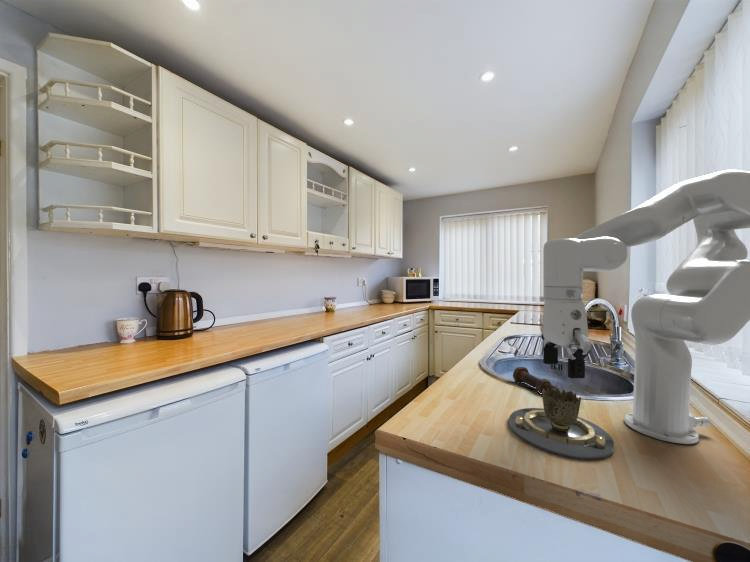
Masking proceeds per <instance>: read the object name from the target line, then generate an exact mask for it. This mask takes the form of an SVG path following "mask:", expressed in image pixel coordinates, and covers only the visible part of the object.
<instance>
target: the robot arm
mask: <svg viewBox="0 0 750 562" xmlns="http://www.w3.org/2000/svg"><path fill="white" fill-rule="evenodd" d="M692 220H693V223H694V227H695V231H696V232H695V233H696V237H697V242H696V243H697V244H696V246H695V247H694V249H692V251H691V252H690V253H689V254H687V255H688V256H686V258H685V259H684V260H682V261H681V263H680V264H679V265H678V266H677V267H676V268H675V270H673V272H672V273H671V274H670V276H669V277H668V279H667V281H666V284H665V285H666V290H667V292H668V293H669V294H664V293H663V294H661V293H660V294H656V293H655V294H648V295H645V296H643V297H640V298H638V299H637V300H636V301H635V302H634V304H633V306H632V307H631V310H630V311H631V312H630V317H631V323H632V327H633V332H634V340H635V341H634V342H635V345H634V348H635V352H634V354H635V356H634V374H633V375H634V376H633V377H634V378H633V400H632V401H633V402H632V403H633V405H632V412H629V413H626V414H625V415H624V423H625V424H626V425H627V426H628V427H630V428H632V429H633V430H635V431H636V432H638V433H641V434H643V435H645V436H648V437H650V438H654V439H656V440H661V441H664V442H669V443H673V444H680V445H693V444H696V443H698V442H699V441H700V439H699V438H700V436H699V435H700V434H699V433H698V432H697V431H696V430H695V429H694V428H696V427H697V426H700V427H710V426H711V425H712V424H711V423H712V422H711V420H710V418H708V417H705V416H694V415H693V414H691V413H690V411H691V410H690V405H691V389H692V388H691V386H692V385H691V384H692V383H691V382H692V368H693V366H692V365H693V360H692V355H691V351H690V349H689V348H688V347H689V346H688V345H687V344H686V341H687V342H692V343H697V344H702V345H703V344H704V345H710V346H712V345H713V346H717V345H721V344H725V343H727V342H728V341H730V340H732V339H733V338H734V337H735V336H737V334H738V333H740V331H741V330H742V329H743V328H744V327H745V326H746V324H747V323H748V322H749V321H750V260H748V259H747V257H748V255H749V254H748V253H749V252H748V249H747V246H746V244H744V243H743V241H742V240H741V239H740V238H739V236H738V235H737V233H736V230H743V229H750V171H745V170H741V169H740V170H738V169H727V170H721V171H717V172H713V173H709V174H706V175H702V176H698V177H694V178H691V179H687V180H684V181H681V182H678V183H677V184H674V185H672V186H671V187H669V188H667V189H665V190H663V191H661V192H660V193H659V194H657V195H654V196H653V197H652V198H650V199H649V200H646V201H645V202H643V203H642V204H640V205H638V206H637V207H635V208H633V209H631V210H628V211H626V212H624V213H621V214H620V215H617V216H615V217H613V218H611V219H609V220H607V221H603V222H602V223H599V224H598V225H596V226H593V227H591V228H589V229H587V230H585V231H583V232H581V233H580V234H578V235H576V236H574V237H573V238H570V237H569V238H556V239H550V240H547V241H546V242H545V243H544V245H543V254H542V255H543V261H542V263H543V269H542V270H543V281H542V282H543V283H542V284H543V287H542V288H543V292H542V293H543V301H544V305H543V315H542V325H540V327H539V329H540V333H541V336H540V337H541V340H542V342H541V343H542V348H543V350H542V352H543V353H542V354H543V355H542V357H543V358H542V359H543V361H542V362H543V364H545V365H557V364H558V363H559V347H561V348H564V349H566V352H567V353H568V356H569V358H567V377H568V378H569V379H585V377H586V360H588V359H587V358H588V356H589V354H590V350H591V347H592V342H591V340H590V339H589V327H588V317H587V311H586V310H587V309H586V305H585V302H584V297H583V296H584V283H583V282H584V272H608V271H609V272H610V271H613V270H616V269H618V268H620V267H621V266H623V265H624V264H625V263H626V261H627V259H628V256H629V250H628V248H632V247H636V246H641V245H644V244H647V243H650V242H654V241H657V240H659V239H661V238H664V237H665V236H667V235H668V234H670V233H671V232H673V231H675V230H676V229H678V228H679V227H682V226H683V225H685V224H686V223H688V222H690V221H692ZM558 346H559V347H558ZM574 350H576V351H574Z"/></svg>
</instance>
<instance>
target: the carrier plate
mask: <svg viewBox="0 0 750 562" xmlns="http://www.w3.org/2000/svg"><path fill="white" fill-rule="evenodd" d="M508 421H509V422H508V423H509V427H510V430H511V431H512V433H513V434H514V435H515V436H517V438H519V439H521V440H522V441H523V442H525V443H527V444H528V445H530V446H532V447H534V448H535V449H539V450H541V451H544V452H546V453H549V454H552V455H554V456H559V457H563V458H566V459H570V460H571V459H573V460H579V461H600V460H604V459H607V458H609V457H610V456H612V455H613V453H614V450H615V442H614V439H613V437H612V436H611V435H610V434H609V433H608V432H607V431H606V430H605V429H603V428H602V427H600V426H599V425H597V424H595V423H593V422H592V421H589V420H586V419H584V418H582V417H579V416H578V417H577V420H576V422H575V423H574V424H572V425H569V426H570V429H569V430H568V431H567V432H561V431H557V430H555V429H554V428H552V426H551V421H550V420H549V419H548V418H547V416H546V414H545V412H544V408H541V407H540V408H539V407H528V408H520V409H517V410H515V411H513V412H511V413H510V415H509V420H508Z"/></svg>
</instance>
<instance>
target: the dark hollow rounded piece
mask: <svg viewBox="0 0 750 562" xmlns="http://www.w3.org/2000/svg"><path fill="white" fill-rule="evenodd" d="M541 396H542V404H543V409H544V412H545V414H546V416H547V418H548V419H549V420H550V421H551V426H552V428H554V429H555V430H557V431H561V432H567V431H568V430H569V429H570V426H569V425H572V424H574V423H575V422H576V420H577V417H579V414H580V409H581V408H580V407H581V401H582V397H581V396H579V398H578V397H577V394H576V393H573V391H572V390H569V391H567V392H566V390H565V389H562V391H561V390H560V389H559V388H558V387H557V389H556V390H554V388H552V389H551V390H550V391H549V388H547V390H545V389H543V390H542V394H541Z"/></svg>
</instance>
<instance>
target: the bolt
mask: <svg viewBox="0 0 750 562" xmlns="http://www.w3.org/2000/svg"><path fill="white" fill-rule="evenodd" d="M512 379H513V380H514V381H515V383H517V382H519V383H518V384H522V383H524V384H527V385H529V386H530V387H532V386H533V387H532V388H534V387H536V388H535V390H536V392H537V391H539V392H540V393H542V390H543V389H545V390H547V388H549V391H550V390H551V389H552V388H554V390H556V389H557V388H558V387H557V386H554V385H553V384H552V383H551V381H550V380H549V379H547V378H539V377H536V376H534V375H532V374H530V372H529V370H528V368H527V367H525V366H518V367H515V369H514V370H513V373H512Z"/></svg>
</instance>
